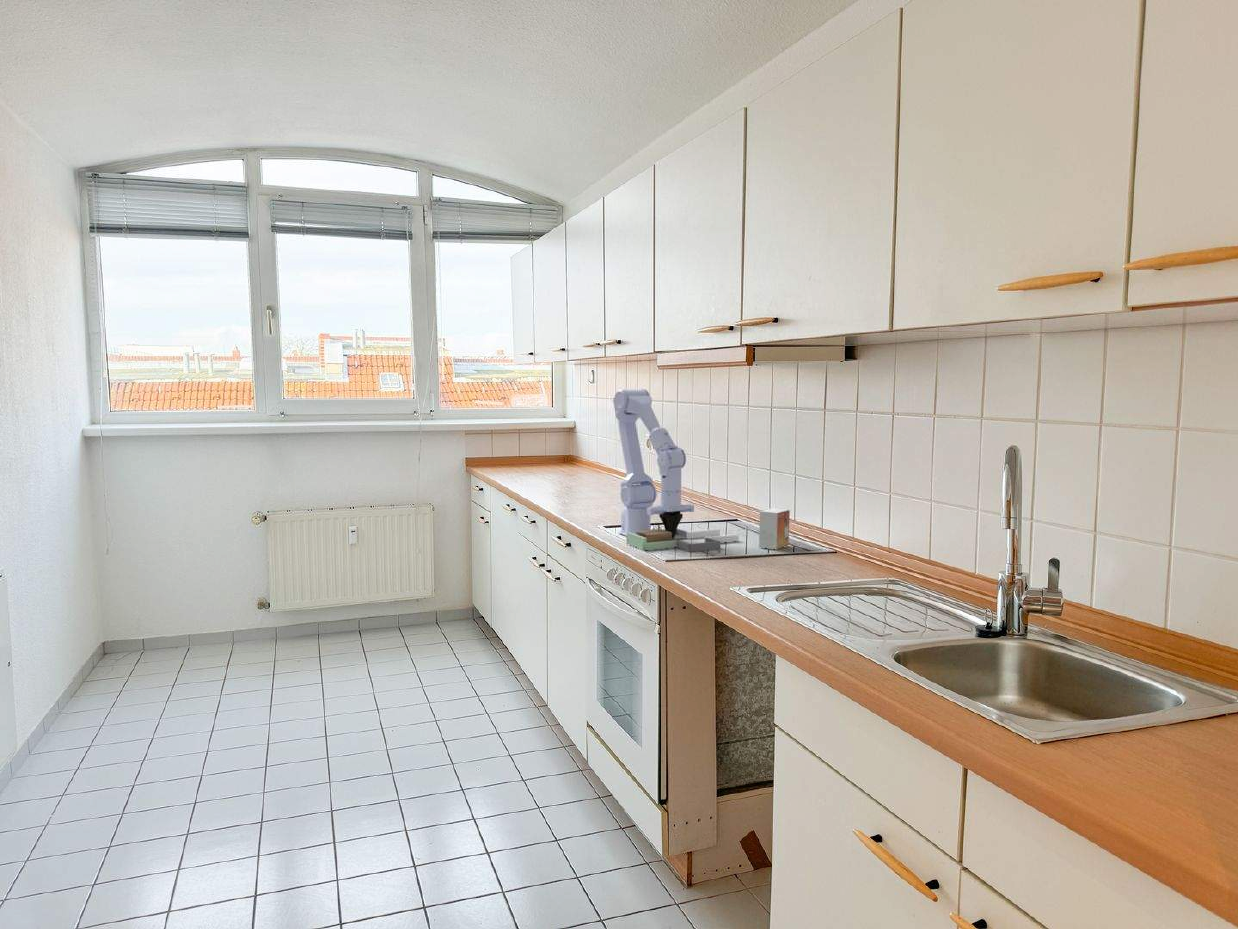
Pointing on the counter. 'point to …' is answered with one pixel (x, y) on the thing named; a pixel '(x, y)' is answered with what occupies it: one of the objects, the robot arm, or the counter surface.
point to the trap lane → (680, 534)
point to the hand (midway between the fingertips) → (670, 538)
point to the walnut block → (656, 535)
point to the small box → (774, 528)
